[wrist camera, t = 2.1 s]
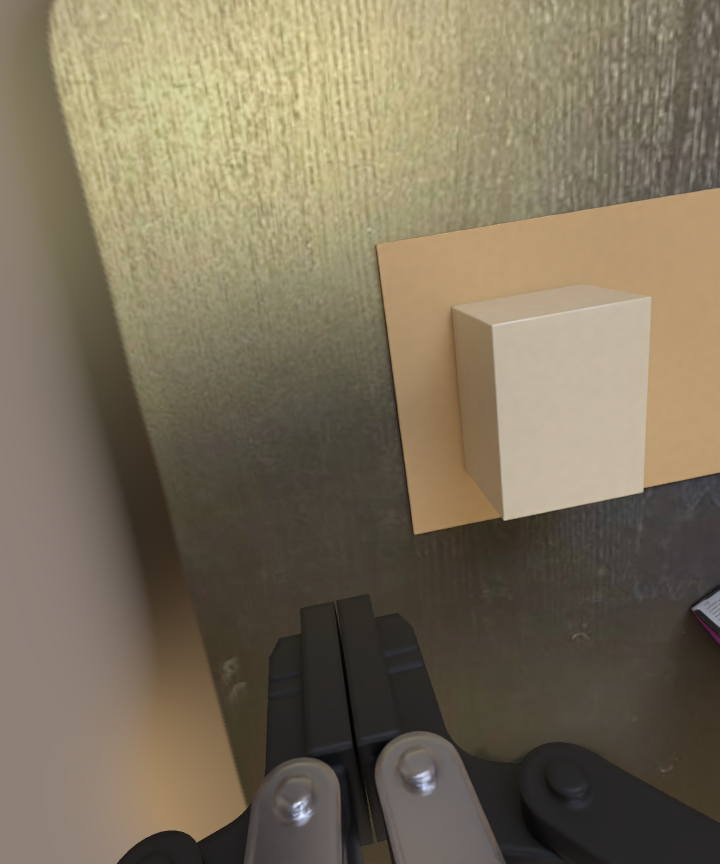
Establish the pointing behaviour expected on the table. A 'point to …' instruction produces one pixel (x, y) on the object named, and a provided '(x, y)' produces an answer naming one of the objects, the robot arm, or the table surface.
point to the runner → (547, 269)
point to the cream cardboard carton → (554, 396)
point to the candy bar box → (710, 613)
